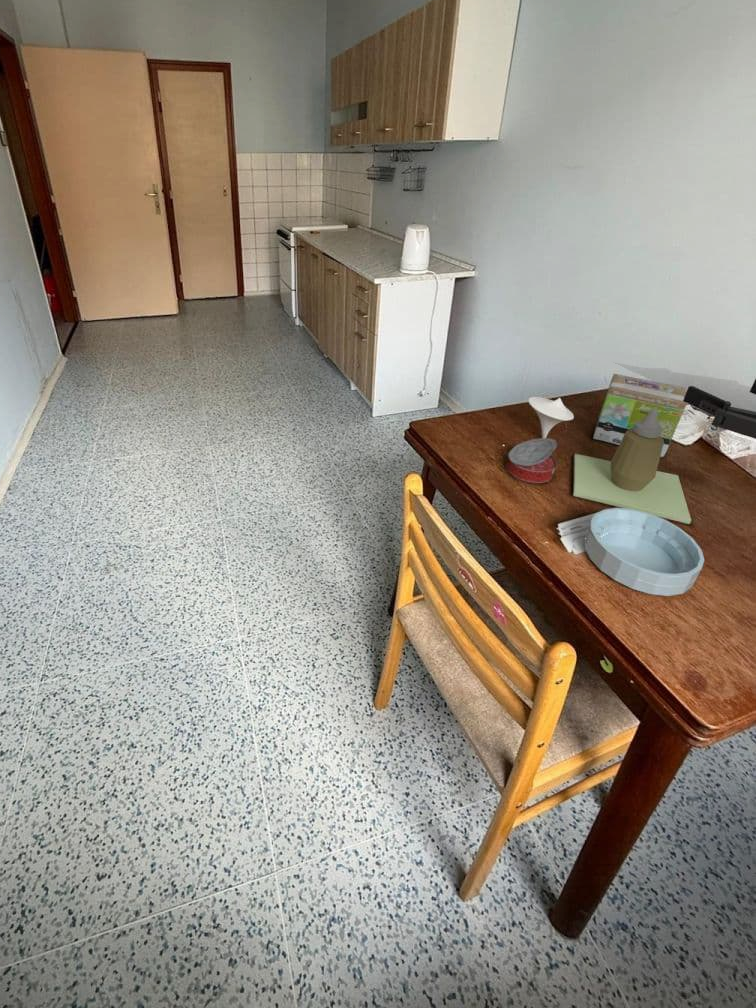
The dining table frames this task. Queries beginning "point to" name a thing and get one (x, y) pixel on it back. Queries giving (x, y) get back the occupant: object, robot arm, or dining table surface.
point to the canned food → (532, 460)
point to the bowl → (643, 551)
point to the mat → (654, 498)
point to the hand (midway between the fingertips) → (721, 388)
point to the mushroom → (550, 412)
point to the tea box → (639, 408)
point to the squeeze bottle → (638, 454)
